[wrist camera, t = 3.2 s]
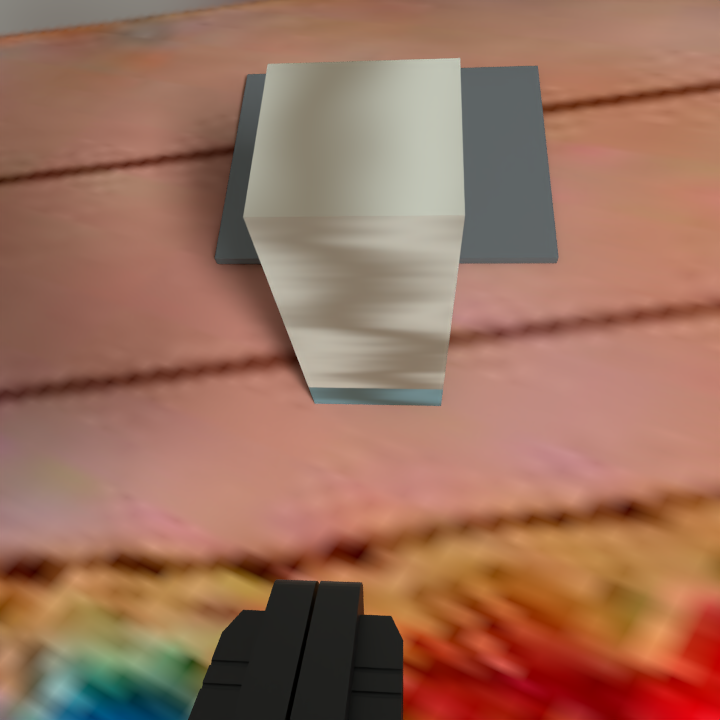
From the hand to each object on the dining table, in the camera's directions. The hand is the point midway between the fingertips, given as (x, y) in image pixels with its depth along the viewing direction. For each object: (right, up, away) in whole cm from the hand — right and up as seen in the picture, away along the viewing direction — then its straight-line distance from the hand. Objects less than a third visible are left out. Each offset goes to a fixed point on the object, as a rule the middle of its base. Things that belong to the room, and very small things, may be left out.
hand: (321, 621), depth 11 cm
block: (+2, +5, +20) cm, 20 cm away
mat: (+2, +16, +25) cm, 30 cm away
